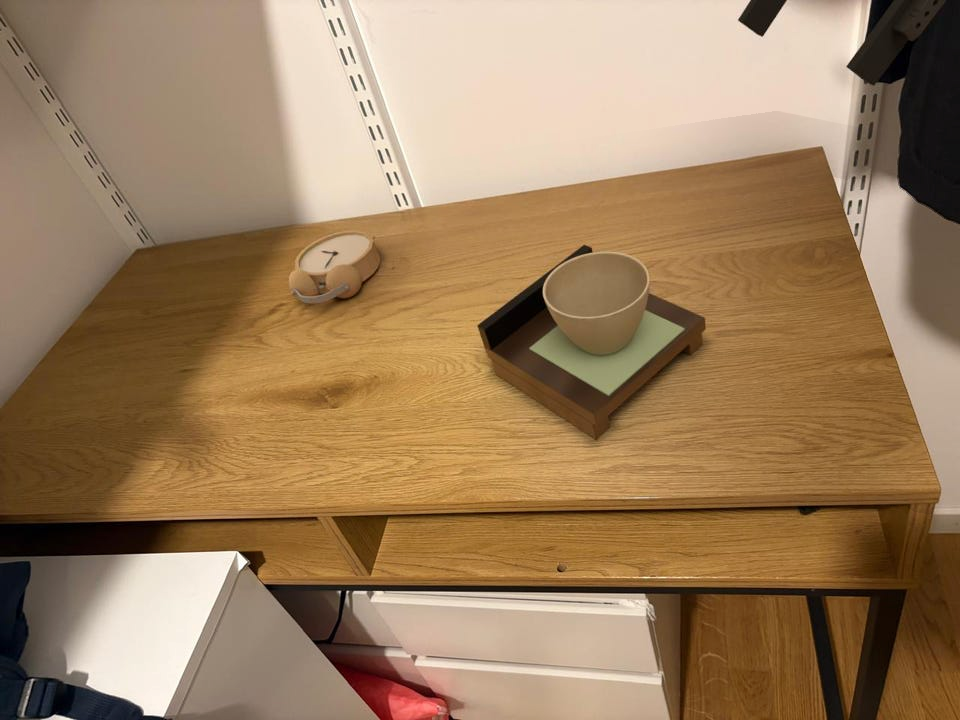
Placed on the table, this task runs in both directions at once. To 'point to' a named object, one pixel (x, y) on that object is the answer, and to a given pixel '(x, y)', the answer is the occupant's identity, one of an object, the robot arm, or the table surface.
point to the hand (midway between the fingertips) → (799, 51)
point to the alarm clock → (334, 266)
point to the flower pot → (598, 299)
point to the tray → (582, 355)
